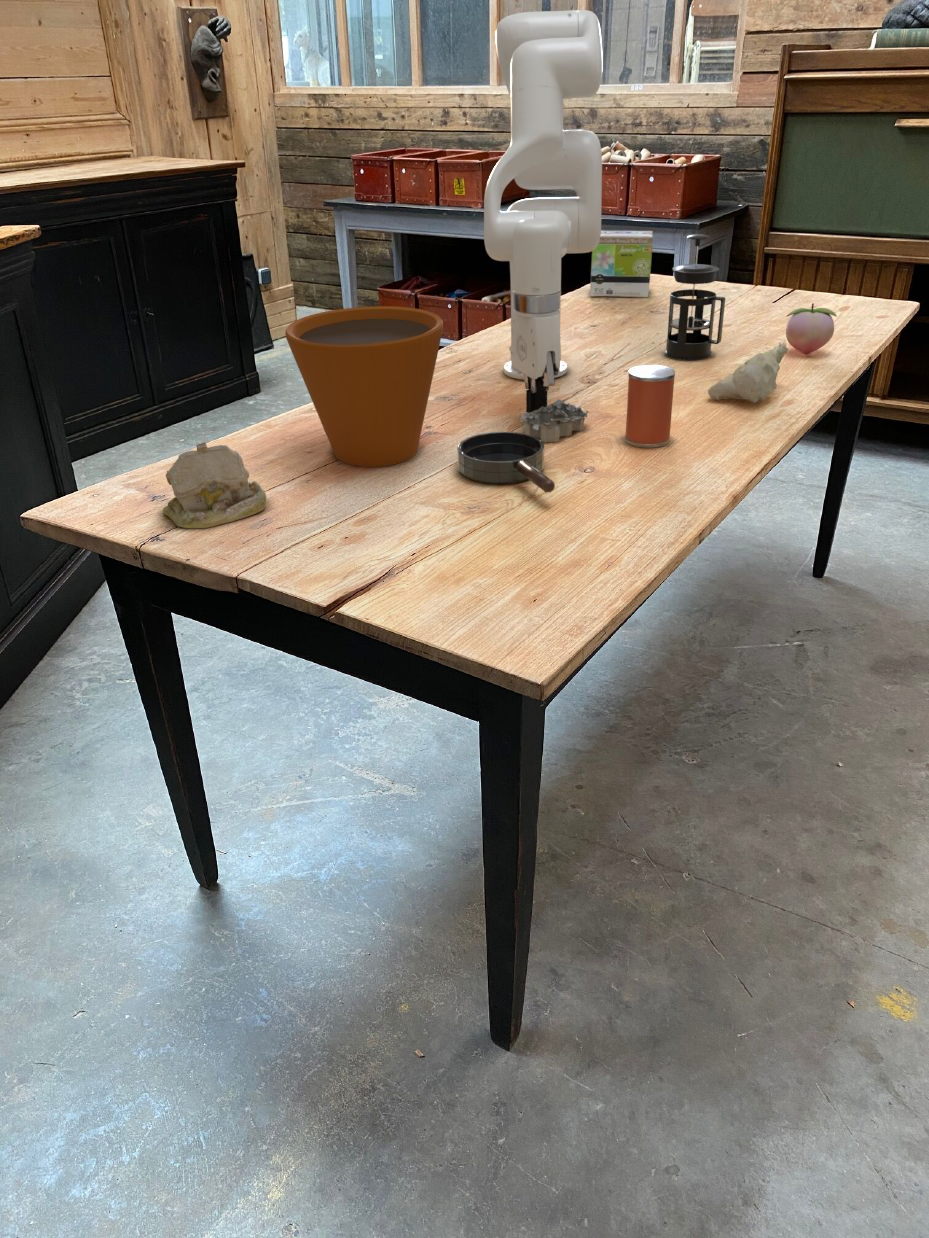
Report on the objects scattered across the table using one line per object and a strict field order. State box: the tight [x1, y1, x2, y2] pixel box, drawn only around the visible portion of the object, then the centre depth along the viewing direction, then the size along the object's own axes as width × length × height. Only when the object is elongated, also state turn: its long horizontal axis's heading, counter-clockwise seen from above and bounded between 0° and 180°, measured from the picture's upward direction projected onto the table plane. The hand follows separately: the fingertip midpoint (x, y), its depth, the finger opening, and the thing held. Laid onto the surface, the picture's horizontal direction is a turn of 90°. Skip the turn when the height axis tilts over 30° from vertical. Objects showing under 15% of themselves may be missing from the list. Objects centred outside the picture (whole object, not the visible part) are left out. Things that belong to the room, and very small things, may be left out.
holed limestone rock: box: [707, 342, 789, 403], centre depth 166 cm, size 15×7×15 cm
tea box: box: [589, 230, 654, 299], centre depth 240 cm, size 15×10×15 cm, turn 81°
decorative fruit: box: [785, 303, 838, 355], centre depth 188 cm, size 9×8×10 cm
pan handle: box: [516, 460, 556, 493], centre depth 132 cm, size 10×2×2 cm, turn 23°
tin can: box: [624, 364, 676, 449], centre depth 148 cm, size 7×7×11 cm
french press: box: [664, 233, 726, 362], centre depth 187 cm, size 12×9×23 cm
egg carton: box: [519, 398, 590, 443], centre depth 155 cm, size 11×8×4 cm
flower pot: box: [284, 305, 444, 468], centre depth 147 cm, size 24×24×20 cm
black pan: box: [456, 431, 546, 485], centre depth 142 cm, size 13×13×4 cm
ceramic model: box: [162, 441, 267, 529], centre depth 131 cm, size 14×11×10 cm
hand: (536, 412), depth 160 cm, fingers closed
